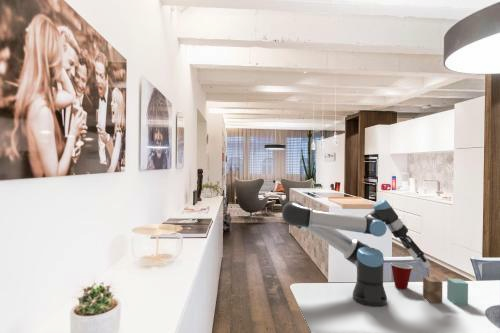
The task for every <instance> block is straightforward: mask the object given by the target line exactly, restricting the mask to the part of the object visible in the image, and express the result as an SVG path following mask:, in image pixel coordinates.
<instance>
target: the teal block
mask: <svg viewBox="0 0 500 333" xmlns="http://www.w3.org/2000/svg"><path fill="white" fill-rule="evenodd" d="M446 282H447V283H446V284H447V288H446V289H447V292H446V298H447V300H448V301H449V302H450V303H451V302H452V303H451V304H453V305H456V306H457V305H458V306H468V305H469V283H468V282H466V281H465V280H463V279H461V278H449V277H448V278H447V279H446Z"/></svg>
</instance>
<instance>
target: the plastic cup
mask: <svg viewBox="0 0 500 333" xmlns="http://www.w3.org/2000/svg"><path fill="white" fill-rule="evenodd" d="M390 266H391V271H392V278H393V281H394V283H393V284H394V287H396V288H397V289H400V290H406V289H408V286H409V281H410V277H411V272H412V270H413V269H414V267H413V266H412V265H410V264H407V263H402V262H390Z"/></svg>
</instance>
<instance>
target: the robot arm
mask: <svg viewBox="0 0 500 333" xmlns="http://www.w3.org/2000/svg"><path fill="white" fill-rule="evenodd" d="M284 204H285V205H283V207H282V212H281V214H282V215H281V217H282V219H283V221H284V222H285V223H286V224H287V225H289V226H292V227H296V228H298V229H299V230H304V229H305V230H306V231H307V232H309V233H310V234H312V235H314V236H315V237H317V238H318V239H320V240H322V241H324V242H325V243H326V244H327V245H329V246H331V247H332V248H333V249H335V250H337V251H339V252H340V253H342V254H343V258H344V259H346V260H347V261H349V262H350V263H351V264H353V265H354V266H355V267H356V282H355V286H354V288H353V291H352V299H353V300H354V301H355V302H357V303H359V304H362V305H366V306H369V307H383V306H386V305H387V303H388V298H387V293H386V291H385V288H384V263H385V259H384V254H383V252H382V251H381V250H380V249H377V248H374V247H371V246H369V245H368V244H366V243H363V242H362V241H360V240H359V239H357V238H355V239H351V238H350V237H348V236H347V235H345V234H344V233H342V232H341V231H347V232H348V231H349V232H355V233H360V234H361V233H362V234H364V235H366V234H368V235H371V236H372V235H373V236H374V237H377V238H378V237H379V238H380V237H382V236H384V235H385V234H386V233H387V230H389V231H390V233H391V234H392V235H393V237H395V238H396V239H399V241H400V242H401V244H402V246H403V247H404V248H405V249H406V250H407V252H408V253H409V254H410V255H411V257H412V258H413V260H414V261H417V260H418V259H419V260H420V262H421V264H422V265H423V266H424V268H425V269H428V268H430V267H432V264H431V263H430V261H429V260H428V259H427V257H426V256H425V253H424V252H423V251H422V250H421V248H420V247H419V246H418V245H417V244H416V242H415V241H414V240H413V239H412V237H410V236H409V235H408V234H407V233H409V229H408V227H407V226H406V224H404V222H403V221H402V218H401V217H399V215H398V214H397V212H396V211H395V209H394V208H393V206H391V205H390V203H389V202H388V201H387V200H386V199H381V200H379V201H377V202H376V203H375V204H374V205H373V206H372V208H373V210H372V211H370V212H369V213H368V214H366V215H365V216H363V217H362V216H356V215H349V214H342V213H337V212H336V213H334V212H328V211H321V210H314V209H312V208H311V207H308V206H307V207H306V206H305V205H303V203H301V202H300V201H299V200H290V201H287V202H286V203H284Z"/></svg>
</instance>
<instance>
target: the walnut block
mask: <svg viewBox="0 0 500 333" xmlns="http://www.w3.org/2000/svg"><path fill="white" fill-rule="evenodd" d="M422 282H423V283H422V298H423V297H424V298H423V299H424V300H425V299H426V300H427V301H428V302H429V304H430V303H432V304H443V281H442V280H441V279H440V278H438V277H434V276H433V277H431V276H422ZM426 300H425V301H426ZM427 301H426V302H427ZM428 302H427V303H428Z"/></svg>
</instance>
